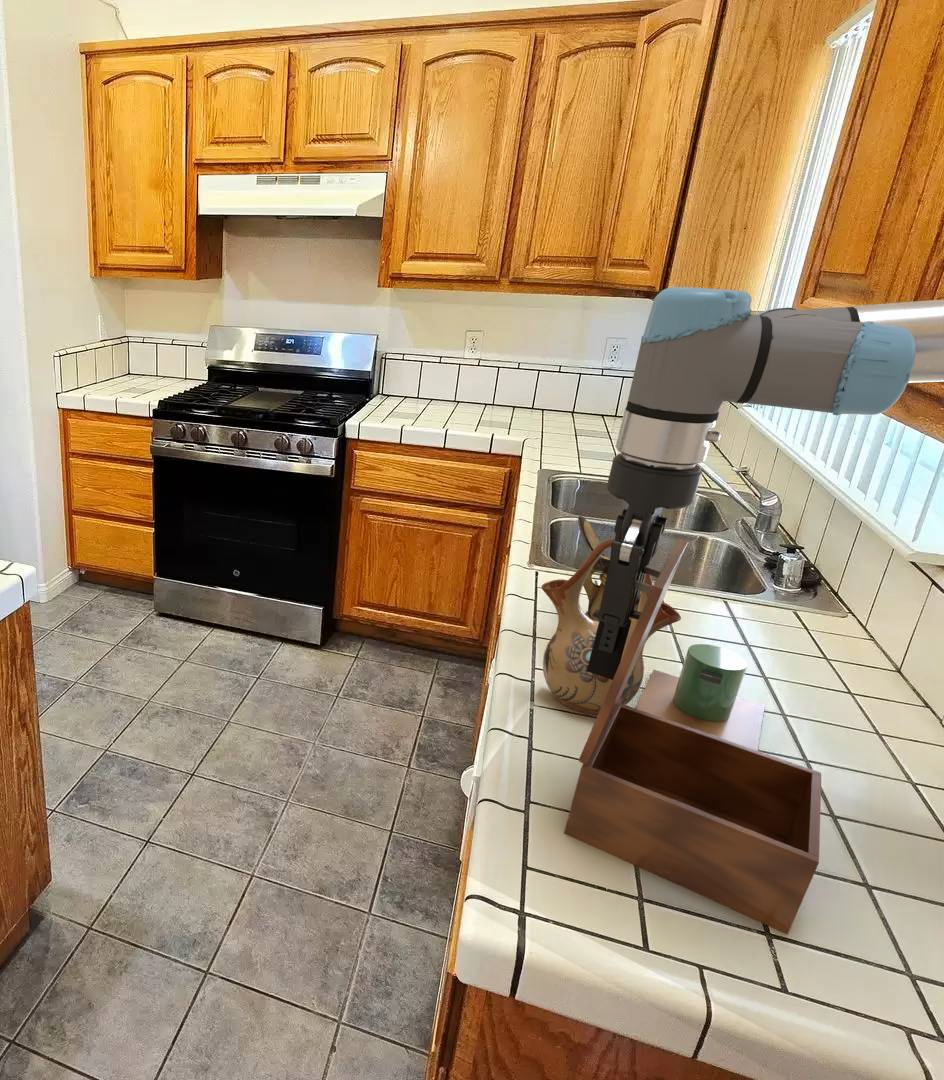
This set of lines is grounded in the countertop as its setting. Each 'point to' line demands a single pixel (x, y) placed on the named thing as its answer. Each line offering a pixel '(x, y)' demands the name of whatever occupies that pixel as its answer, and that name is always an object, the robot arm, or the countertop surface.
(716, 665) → the pot
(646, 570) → the chest lid
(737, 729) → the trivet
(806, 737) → the countertop surface
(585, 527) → the wooden mug
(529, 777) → the countertop surface
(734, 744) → the chest
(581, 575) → the ceramic vessel
